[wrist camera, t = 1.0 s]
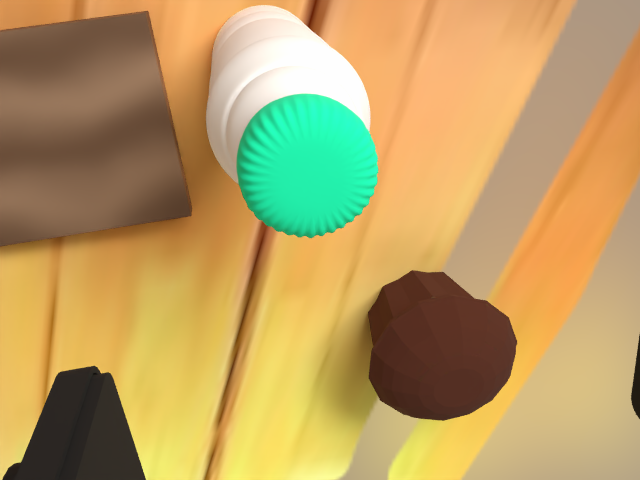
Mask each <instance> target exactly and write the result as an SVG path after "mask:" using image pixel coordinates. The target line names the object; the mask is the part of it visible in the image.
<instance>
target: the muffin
mask: <svg viewBox="0 0 640 480" xmlns="http://www.w3.org/2000/svg"><path fill="white" fill-rule="evenodd" d="M368 315H369V321H370V328H371V334H372V341H373V349H372V352H371V361H370V371H369V379H370V381H371V383H372V385H373V387H374V389H375V391H376V393H377V395H378V397H379V399H380V401H382V402H384V403H385V404H387V405H389V406H391V407H392V408H394V409H395V410H397V411H399V412H400V413H402V414H404V415H408V416H411V417H414V418H421V419H432V420H443V421H444V420H448V419H452V418H456V417H460V416H464V415H468V414H470V413H472V412H474V411H475V410H477V409H479V408H480V407H482V406H483V405H485V404H487V403H488V402H490V401H492V400H493V398H494V397H495V396H496V395H497V393H498V392H499V391H500V390H501V389H502V387H503V386H504V385H505V384H506V382H507V381H508V379H509V377H510V374H511V370H512V366H513V362H514V358H515V354H516V345H517V340H516V337H515V334H514V331H513V329H512V326H511V323H510V320H509V317H507V316H506V315H505V314H503V313H502V312H501V311H499V310H498V309H497V308H495V307H494V306H493V305H491V304H490V303H489V302H487V301H485V300H479V299H474V298H473V297H472V296H471V295H470V294H469V293H467V292H466V291H465V290H464V289H463V288H461V287H460V286H459V285H458V284H457V283H456V282H454V281H453V280H452V279H451V278H450V277H449V276H447V275H446V274H445V273H444V272H431V273H427V272H420V271H413V270H412V271H410V272H409V273H407V274H406V275H404V276H403V277H401V278H400V279H398V280H396V281H394V282H391V283H389V284H387V285H385V286H383V287H382V290H381V292H380V294H379V296H378V299H377V301H376V302H375V303H374V305H373V306H372V308H371V309H370V311H369V312H368Z"/></svg>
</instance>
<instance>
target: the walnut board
mask: <svg viewBox="0 0 640 480" xmlns="http://www.w3.org/2000/svg"><path fill="white" fill-rule="evenodd" d="M191 212H192V206H191V201H190V197H189V192H188V188H187V183H186V179H185V174H184V170H183V165H182V161H181V156H180V152H179V147H178V143H177V138H176V134H175V129H174V125H173V120H172V116H171V111H170V107H169V102H168V98H167V93H166V89H165V84H164V80H163V75H162V71H161V66H160V62H159V57H158V53H157V48H156V44H155V39H154V35H153V30H152V26H151V21H150V17H149V12H148V11H144V12H136V13H129V14H121V15H113V16H106V17H98V18H90V19H83V20H75V21H68V22H60V23H52V24H45V25H37V26H29V27H22V28H14V29H6V30H0V246H5V245H11V244H17V243H24V242H30V241H36V240H43V239H49V238H55V237H61V236H68V235H74V234H80V233H87V232H93V231H99V230H105V229H112V228H118V227H124V226H131V225H137V224H143V223H150V222H156V221H162V220H168V219H175V218H181V217H187V216H191Z"/></svg>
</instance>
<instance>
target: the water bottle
mask: <svg viewBox="0 0 640 480" xmlns="http://www.w3.org/2000/svg"><path fill="white" fill-rule="evenodd" d="M206 127H207V134H208V138H209V142H210V145H211V148H212V150H213V153H214V155H215V157H216V159H217V161H218V162H219V164H220V165H221V167H222V168H223V169H224V171H225V172H226V173H227V174H228V175H229V176H230V177H231V178H232V179H233V180H234V181H235V182H236V183H237V184H239V186H240V188H241V192H242V195H243V198H244V199H245V201H246V203H247V205H248V208H249V209H250V210H251V211H253V212H254V214H255V216H256V217H257V218H258V219H259V220H262V221H263V222H264V223H265V224H266V225H267V226H270V227H273V228H274V229H275V230H276V231H278V232H281V231H282V232H284V233H286V234H287V235H293V234H294V235H296V236H297V237H303V236H307V237H309V238H312V237H314V236H315V235H319V236H323V235H324V234H325V233H327V232H329V233H333V232H334V231H335V230H336V229H337V228H343V227H344V226H345V224H346V223H348V222H352V221H353V220H354V218H355V216H357V215H360V214H361V213H362V210H363V208H364V207H366V206H367V205H368V204H369V199H370V197H371V196H373V194H374V187H375V186H376V184H377V173H378V166H377V161H378V157H377V154H376V151H375V145H374V142H373V140H372V138H371V135H370V133H369V130H370V107H369V101H368V97H367V94H366V91H365V88H364V85H363V83H362V81H361V79H360V77H359V76H358V74H357V73H356V71H355V70H354V68H353V67H352V66H351V65H350V63H349V62H348V61H347V60H346V59H345V58H344V57H343V56H342V55H340V54H339V53H338V52H337V51H335V50H334V49H332V48H331V47H330V46H329V45H328V44H327V43H326V42H325V41H323V40H322V39H321V38H320V37H319V36H317V35H316V34H315V33H313V32H312V31H311V30H310V29H309V28H308V27H307V26H306V25H305V24H304V23H303V22H302V21H301V20H300V19H298V18H297V17H296V16H295V15H293V14H292V13H290V12H288V11H286V10H284V9H282V8H279V7H275V6H268V5H259V6H252V7H249V8H246V9H243V10H241V11H239V12H237V13H236V14H234V15H233V16H232V17H231V18H229V19H228V20H227V21H226V23H225V24H224V25H223V26H222V28H221V29H220V31H219V32H218V34H217V37H216V39H215V42H214V46H213V51H212V64H211V76H210V83H209V98H208V102H207V109H206Z"/></svg>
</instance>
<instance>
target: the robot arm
mask: <svg viewBox="0 0 640 480" xmlns="http://www.w3.org/2000/svg"><path fill="white" fill-rule="evenodd" d="M631 400H632V405H633V408H634V411H635V412H636V415H637V416H638V417H639V419H640V336H639V343H638V351H637V358H636V366H635V373H634V380H633V387H632V395H631ZM3 480H146V478H145V475H144V472H143V469H142V466H141V463H140V460H139V457H138V454H137V451H136V447H135V444H134V441H133V438H132V435H131V432H130V429H129V426H128V423H127V420H126V417H125V413H124V410H123V407H122V404H121V401H120V398H119V395H118V392H117V389H116V386H115V383H114V380H113V377H112V375H111V374H110V373H102V374H101V373H100V371H99V369H98V368H97V367H96V366H91V367H85V368H80V369H74V370H68V371H62V372H60V373H58V374H57V376H56V378H55V381H54V383H53V385H52V388H51V390H50V393H49V395H48V398H47V400H46V403H45V405H44V408H43V410H42V413H41V415H40V417H39V420H38V422H37V425H36V427H35V430H34V432H33V435H32V437H31V440H30V442H29V445H28V447H27V450H26V452H25V454H24V457H23V459H22V462H21V463H15V464H13V465H12V466H11V467H9V468H8V470H7V472H6V474H5V475H4V477H3Z"/></svg>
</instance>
